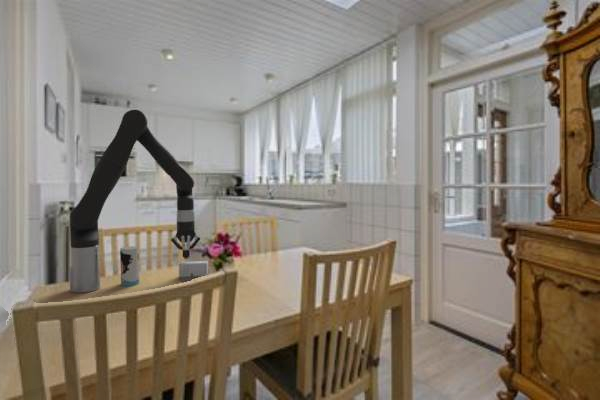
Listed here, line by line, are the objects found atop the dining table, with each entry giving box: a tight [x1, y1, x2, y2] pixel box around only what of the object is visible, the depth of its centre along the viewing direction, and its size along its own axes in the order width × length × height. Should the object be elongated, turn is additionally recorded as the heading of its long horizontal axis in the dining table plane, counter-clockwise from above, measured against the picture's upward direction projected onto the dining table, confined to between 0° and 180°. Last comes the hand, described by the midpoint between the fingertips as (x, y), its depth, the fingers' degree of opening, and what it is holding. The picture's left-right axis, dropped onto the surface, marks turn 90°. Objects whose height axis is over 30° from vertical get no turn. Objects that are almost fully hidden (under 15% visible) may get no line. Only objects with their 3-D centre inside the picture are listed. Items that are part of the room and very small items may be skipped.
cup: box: [119, 245, 140, 287], centre depth 137 cm, size 7×7×15 cm
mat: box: [180, 276, 201, 282], centre depth 150 cm, size 12×16×1 cm
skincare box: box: [178, 260, 209, 278], centre depth 148 cm, size 6×4×12 cm
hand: (186, 258), depth 148 cm, fingers closed
